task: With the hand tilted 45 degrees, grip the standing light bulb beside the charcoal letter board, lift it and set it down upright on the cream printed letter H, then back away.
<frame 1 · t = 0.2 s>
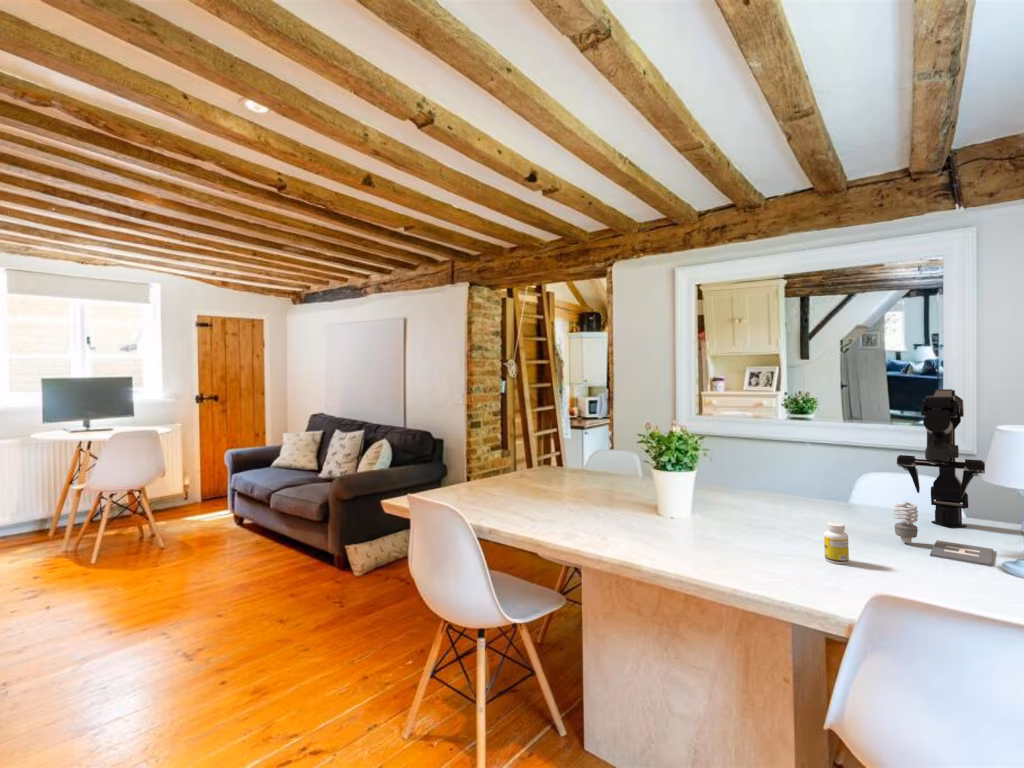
hand: (939, 495, 143), 15 cm above the table, tool tilted 15°, fingers open, 9 cm apart
letter board: (962, 553, 140), on the table
supplement bottle: (836, 562, 136), on the table
light bulb: (906, 544, 149), on the table
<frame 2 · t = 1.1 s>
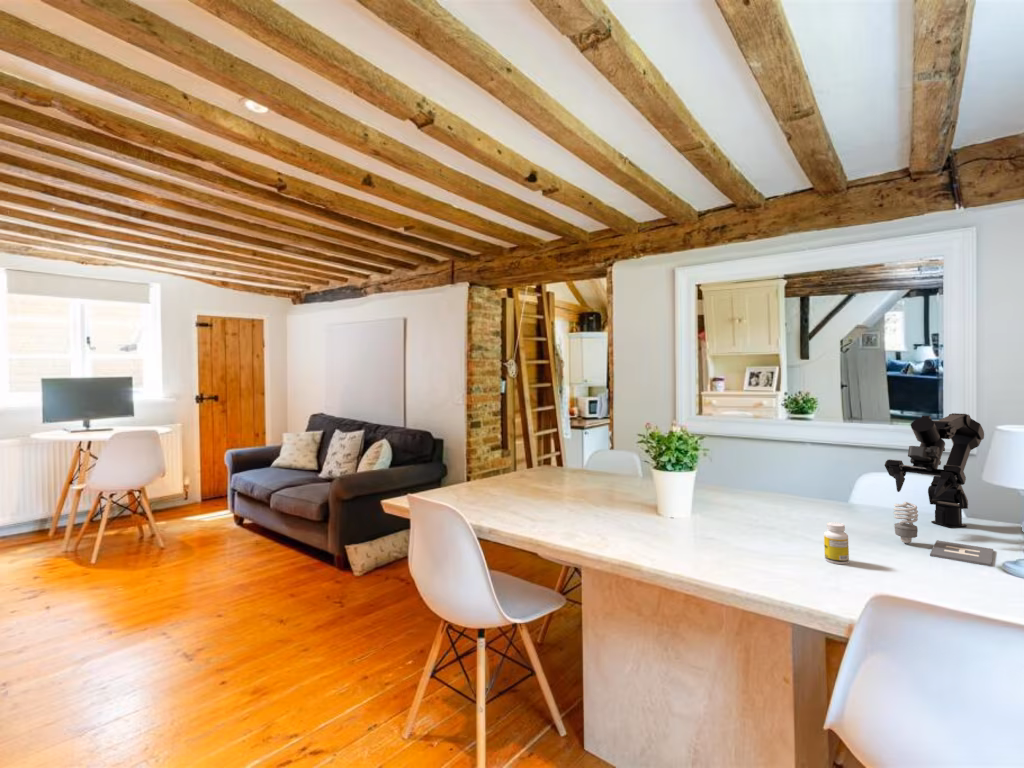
hand: (916, 493, 153), 13 cm above the table, tool tilted 45°, fingers open, 9 cm apart
nothing on the table moved.
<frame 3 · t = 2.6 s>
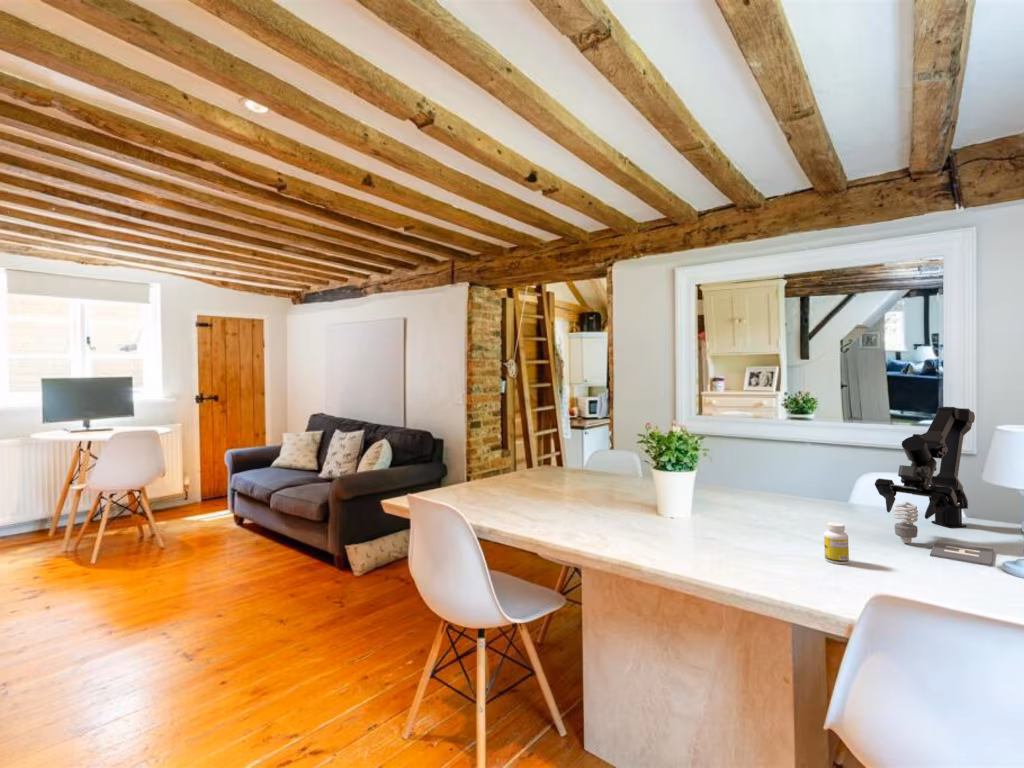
hand: (906, 514, 149), 8 cm above the table, tool tilted 45°, fingers open, 9 cm apart
nothing on the table moved.
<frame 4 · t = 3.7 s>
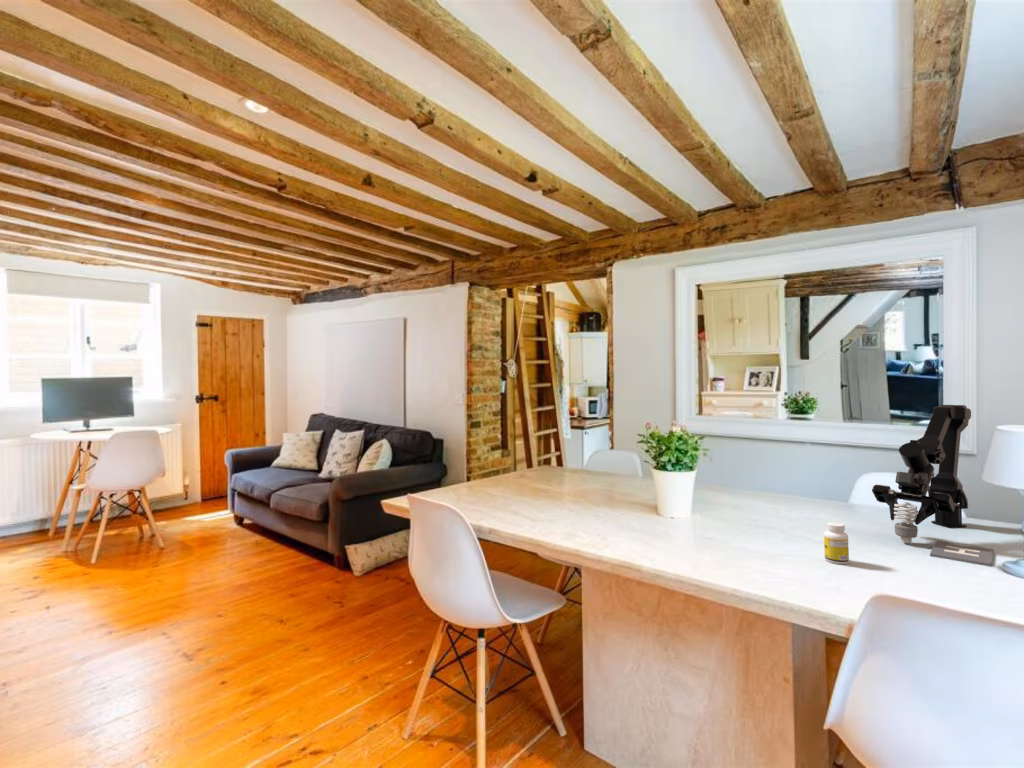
hand: (903, 521, 148), 7 cm above the table, tool tilted 45°, fingers closed on light bulb, 5 cm apart
light bulb: (906, 544, 149), on the table, touching gripper
everything else where it was.
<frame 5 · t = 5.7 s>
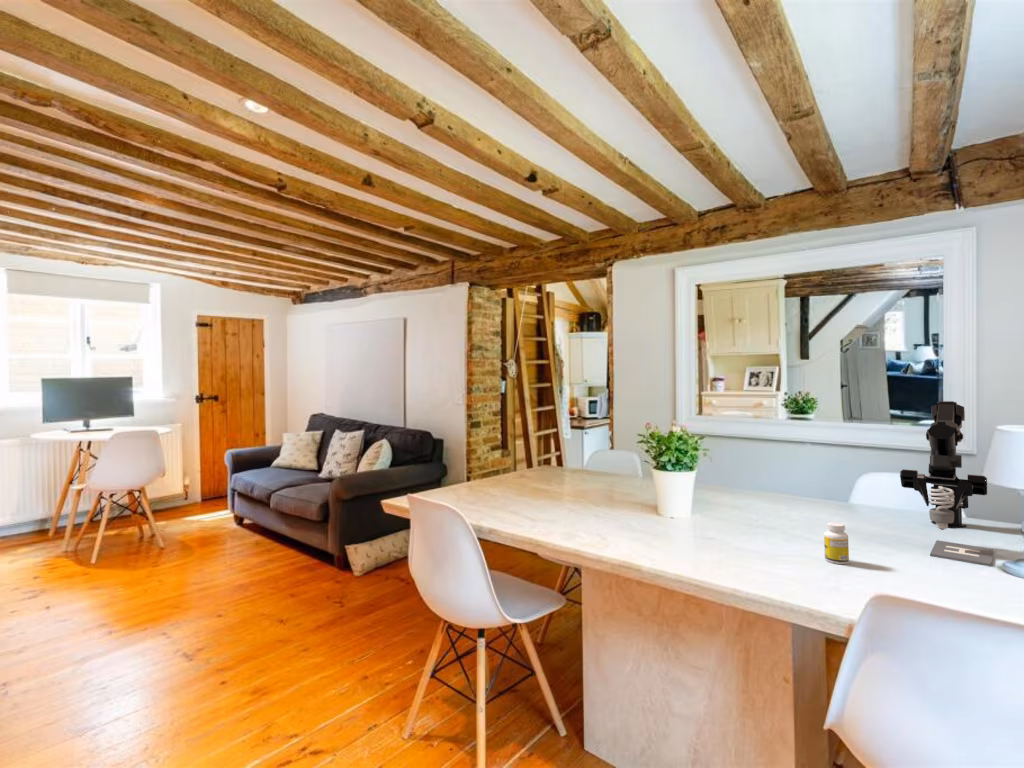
hand: (941, 506, 142), 12 cm above the table, tool tilted 45°, fingers closed on light bulb, 5 cm apart
light bulb: (941, 530, 143), point 5 cm above the table, touching gripper
everything else where it was.
when the fingers open (8 cm above the table, at t = 7.9 s): light bulb stays where it is, resting on letter board.
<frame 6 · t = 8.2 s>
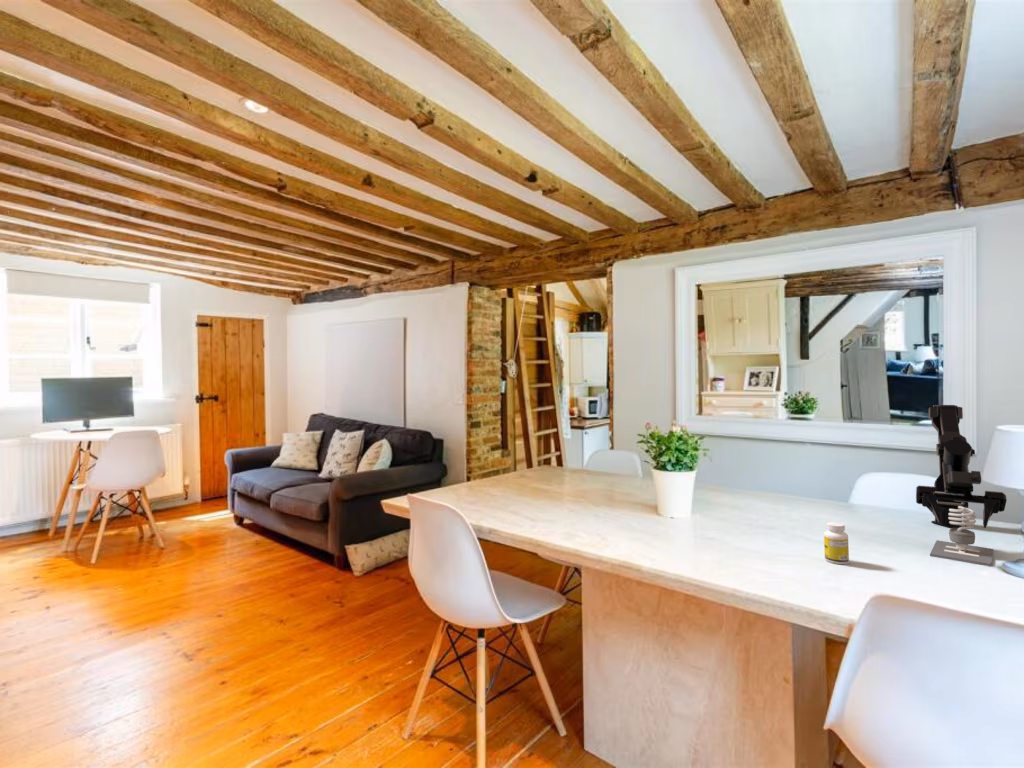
hand: (962, 524, 139), 8 cm above the table, tool tilted 45°, fingers open, 9 cm apart
light bulb: (962, 551, 140), point 1 cm above the table, touching letter board
everything else where it was.
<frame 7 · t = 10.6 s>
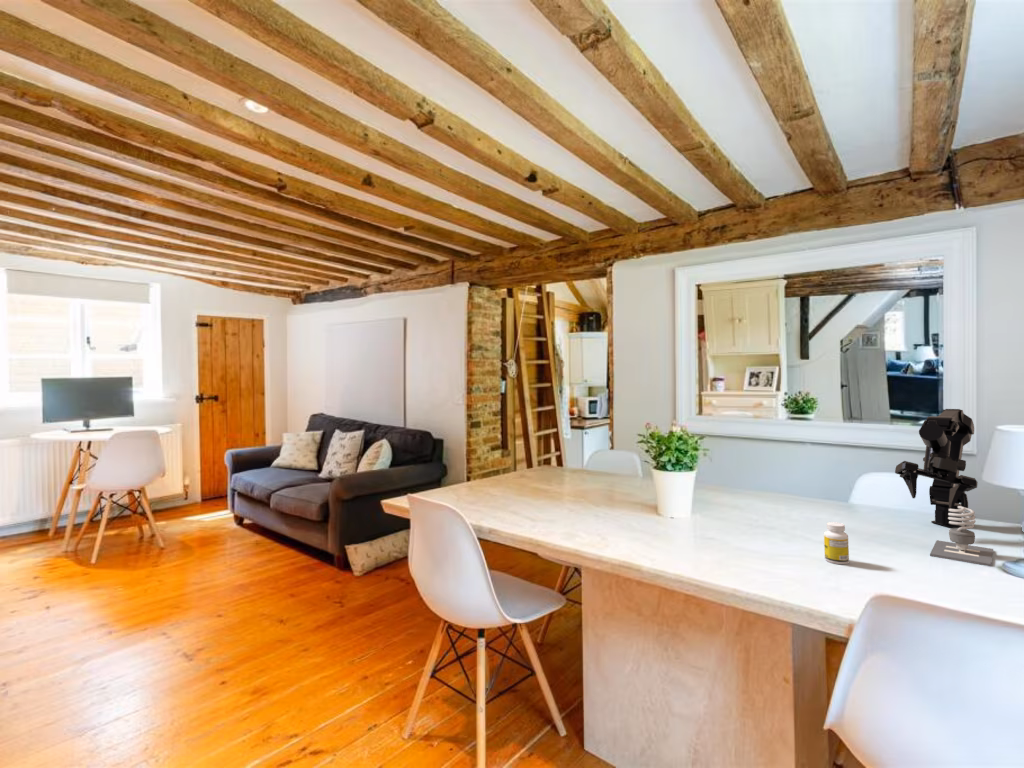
hand: (932, 502, 153), 11 cm above the table, tool tilted 30°, fingers open, 9 cm apart
nothing on the table moved.
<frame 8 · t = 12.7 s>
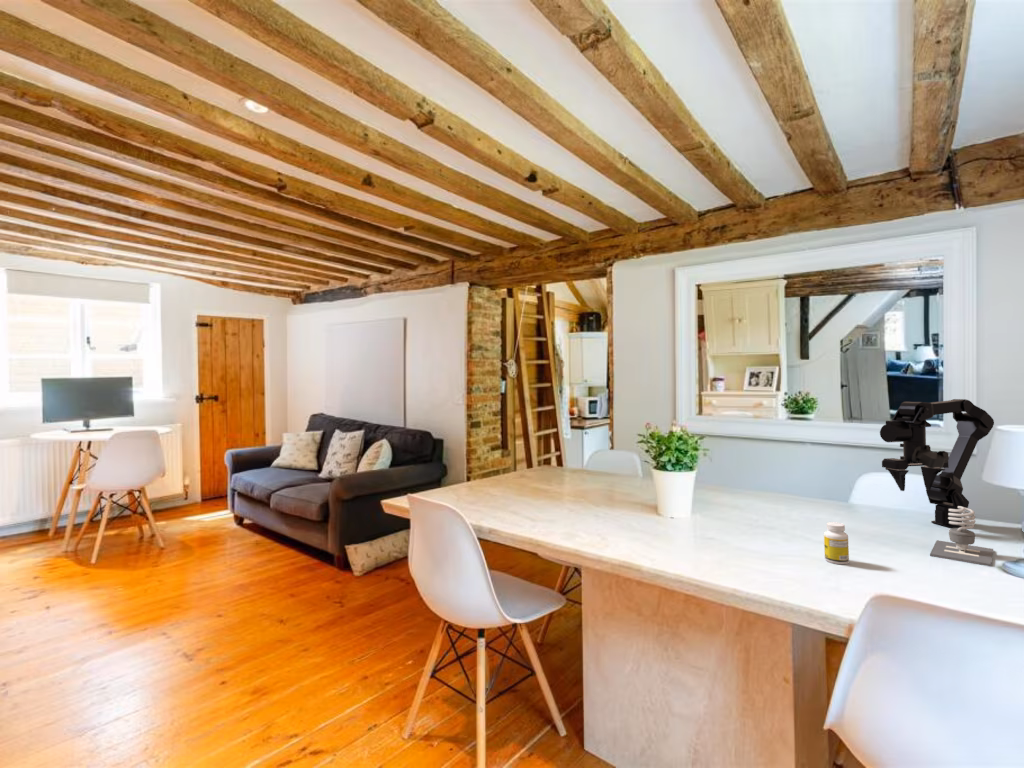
hand: (915, 490, 165), 12 cm above the table, tool pointing down, fingers open, 9 cm apart
nothing on the table moved.
at the end: light bulb 0.2 cm off-centre on the letter board, point 0.5 cm above the letter board's base; light bulb tilted 0°; the gripper is holding nothing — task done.
